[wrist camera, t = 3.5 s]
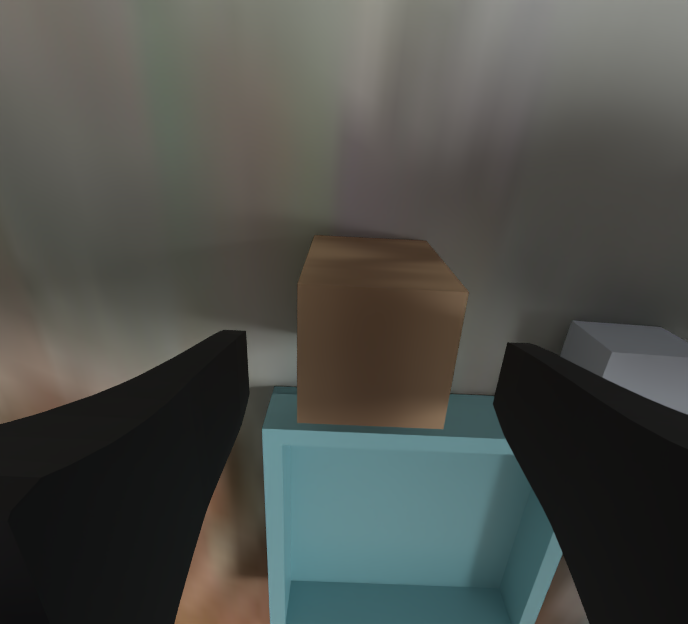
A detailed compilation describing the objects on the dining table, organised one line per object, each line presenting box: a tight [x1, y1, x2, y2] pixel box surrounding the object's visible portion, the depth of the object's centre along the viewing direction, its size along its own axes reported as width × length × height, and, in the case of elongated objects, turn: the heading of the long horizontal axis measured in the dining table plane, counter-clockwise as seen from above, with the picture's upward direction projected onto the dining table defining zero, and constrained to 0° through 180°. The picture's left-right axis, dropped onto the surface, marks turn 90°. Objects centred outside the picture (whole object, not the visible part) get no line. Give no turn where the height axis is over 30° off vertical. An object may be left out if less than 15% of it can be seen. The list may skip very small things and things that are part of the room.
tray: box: [262, 386, 563, 624], centre depth 20 cm, size 14×14×3 cm
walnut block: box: [297, 235, 469, 429], centre depth 14 cm, size 4×4×6 cm
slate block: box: [560, 321, 688, 415], centre depth 17 cm, size 4×4×3 cm
